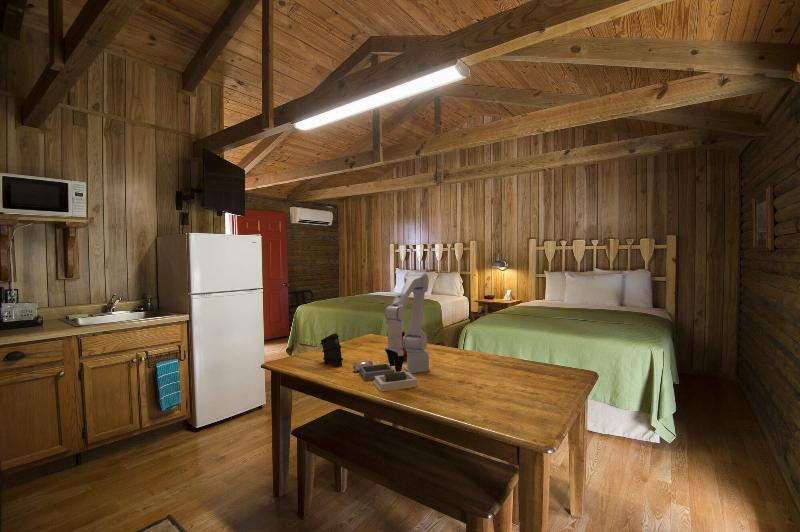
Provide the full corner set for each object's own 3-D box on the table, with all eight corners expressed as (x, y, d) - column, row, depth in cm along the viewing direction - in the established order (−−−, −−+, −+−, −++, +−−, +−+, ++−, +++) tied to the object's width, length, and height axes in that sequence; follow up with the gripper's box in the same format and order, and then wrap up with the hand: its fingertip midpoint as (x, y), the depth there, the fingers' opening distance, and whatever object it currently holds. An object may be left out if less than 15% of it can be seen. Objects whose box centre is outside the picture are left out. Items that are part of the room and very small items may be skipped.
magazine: (340, 365, 178) (331, 334, 181) (326, 371, 186) (317, 341, 190) (346, 363, 180) (338, 332, 184) (332, 369, 189) (324, 340, 193)
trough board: (409, 378, 164) (409, 371, 164) (418, 386, 154) (418, 379, 154) (373, 383, 159) (373, 376, 158) (380, 391, 149) (379, 384, 149)
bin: (387, 369, 175) (387, 363, 175) (394, 376, 166) (394, 369, 166) (359, 373, 171) (359, 366, 171) (365, 380, 161) (364, 373, 161)
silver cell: (371, 359, 177) (373, 364, 174) (370, 366, 179) (372, 371, 175) (352, 361, 174) (354, 366, 171) (352, 368, 176) (354, 373, 172)
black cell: (402, 379, 160) (402, 370, 159) (406, 383, 156) (406, 373, 155) (382, 382, 157) (382, 372, 156) (385, 386, 153) (385, 376, 153)
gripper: (380, 332, 161) (380, 364, 162) (390, 340, 147) (391, 375, 148) (396, 331, 163) (396, 362, 164) (408, 338, 149) (408, 373, 150)
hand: (395, 368), depth 156 cm, fingers open, 7 cm apart
